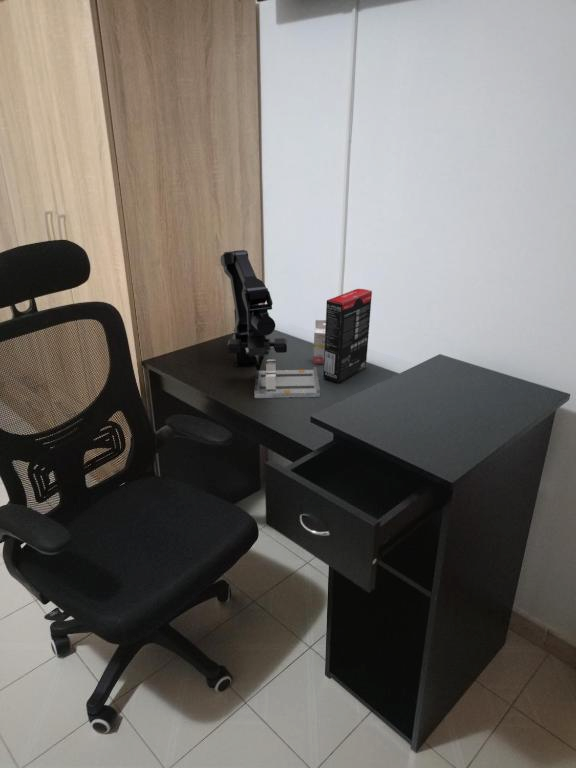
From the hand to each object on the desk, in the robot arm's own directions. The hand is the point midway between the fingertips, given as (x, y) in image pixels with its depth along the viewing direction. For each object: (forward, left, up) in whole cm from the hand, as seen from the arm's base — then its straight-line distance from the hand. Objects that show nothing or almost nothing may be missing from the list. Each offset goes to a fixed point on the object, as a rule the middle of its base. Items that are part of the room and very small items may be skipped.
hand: (258, 370), depth 178 cm
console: (+9, -4, -4) cm, 11 cm away
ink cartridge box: (+23, +14, -4) cm, 27 cm away
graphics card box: (+29, +4, -4) cm, 30 cm away
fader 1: (+4, 0, -2) cm, 4 cm away
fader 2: (+4, -9, -2) cm, 10 cm away
